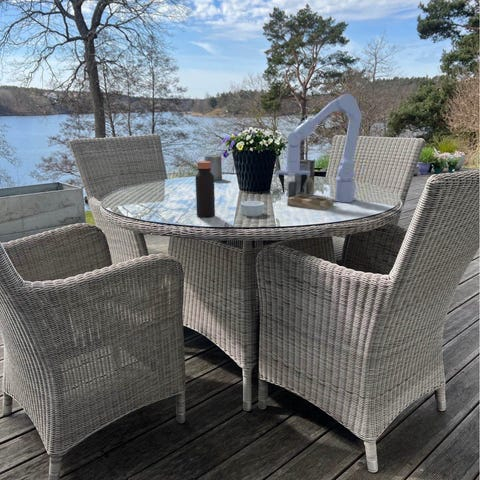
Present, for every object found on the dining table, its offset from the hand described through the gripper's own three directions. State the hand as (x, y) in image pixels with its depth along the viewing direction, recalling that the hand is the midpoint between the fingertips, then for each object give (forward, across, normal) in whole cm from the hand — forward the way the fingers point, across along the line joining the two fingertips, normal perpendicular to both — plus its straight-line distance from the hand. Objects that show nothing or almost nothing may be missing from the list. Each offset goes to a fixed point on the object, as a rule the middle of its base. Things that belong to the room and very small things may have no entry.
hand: (292, 192), depth 185 cm
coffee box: (+4, -6, -10) cm, 13 cm away
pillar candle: (+4, +43, -58) cm, 72 cm away
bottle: (+4, +34, +32) cm, 47 cm away
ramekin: (+4, +16, +29) cm, 33 cm away
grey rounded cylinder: (+3, 0, 0) cm, 4 cm away
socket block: (+3, -7, +12) cm, 14 cm away
